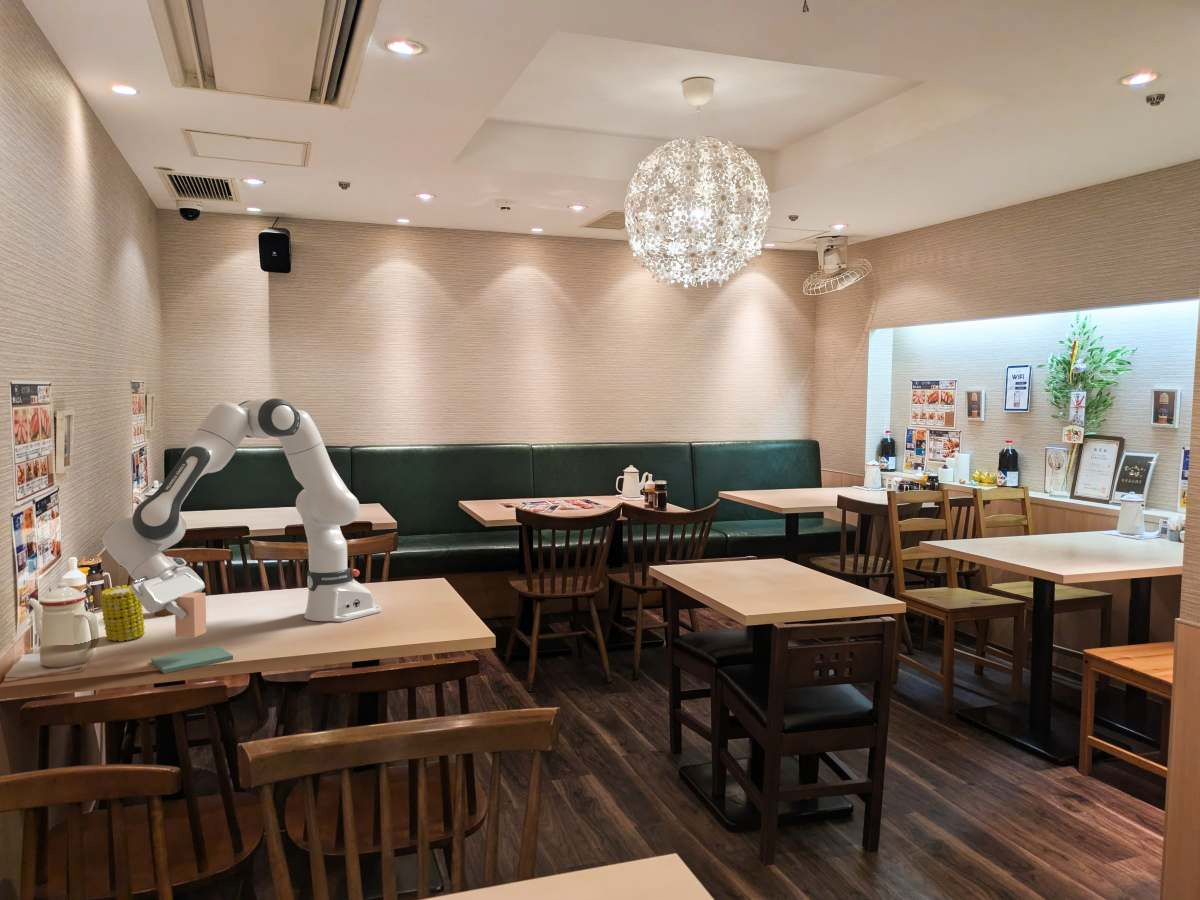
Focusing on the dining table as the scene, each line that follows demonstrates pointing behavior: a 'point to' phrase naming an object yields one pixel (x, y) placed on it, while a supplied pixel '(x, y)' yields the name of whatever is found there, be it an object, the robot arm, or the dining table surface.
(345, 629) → the dining table surface
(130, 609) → the food
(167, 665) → the green pad
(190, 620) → the terracotta block
